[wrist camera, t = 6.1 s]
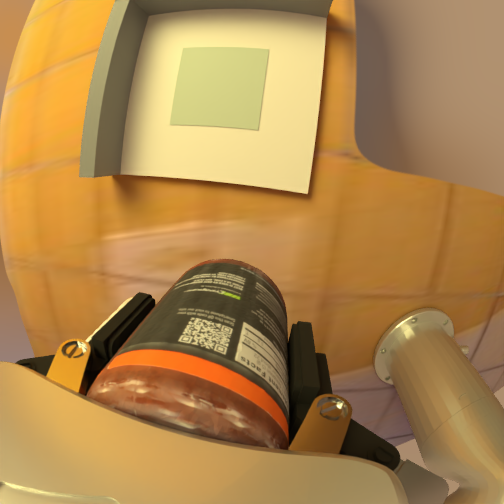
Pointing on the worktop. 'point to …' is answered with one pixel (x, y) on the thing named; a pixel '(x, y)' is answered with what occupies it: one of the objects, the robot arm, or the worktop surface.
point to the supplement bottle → (208, 359)
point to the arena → (207, 91)
